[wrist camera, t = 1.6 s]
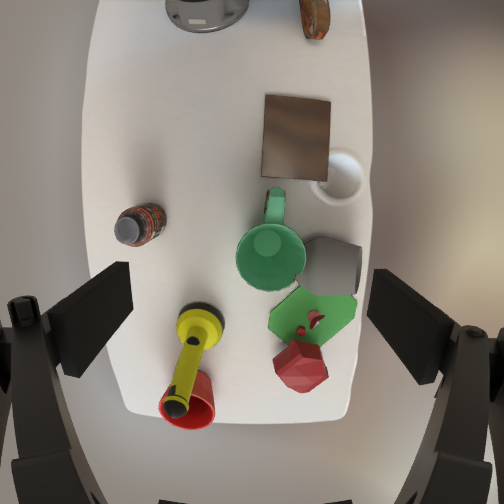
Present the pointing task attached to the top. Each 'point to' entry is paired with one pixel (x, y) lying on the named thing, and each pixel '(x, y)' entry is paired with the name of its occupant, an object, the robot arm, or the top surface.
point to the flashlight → (192, 351)
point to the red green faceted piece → (307, 335)
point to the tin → (315, 18)
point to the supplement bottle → (140, 224)
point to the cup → (331, 267)
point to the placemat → (296, 138)
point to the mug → (271, 249)
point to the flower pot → (195, 406)
